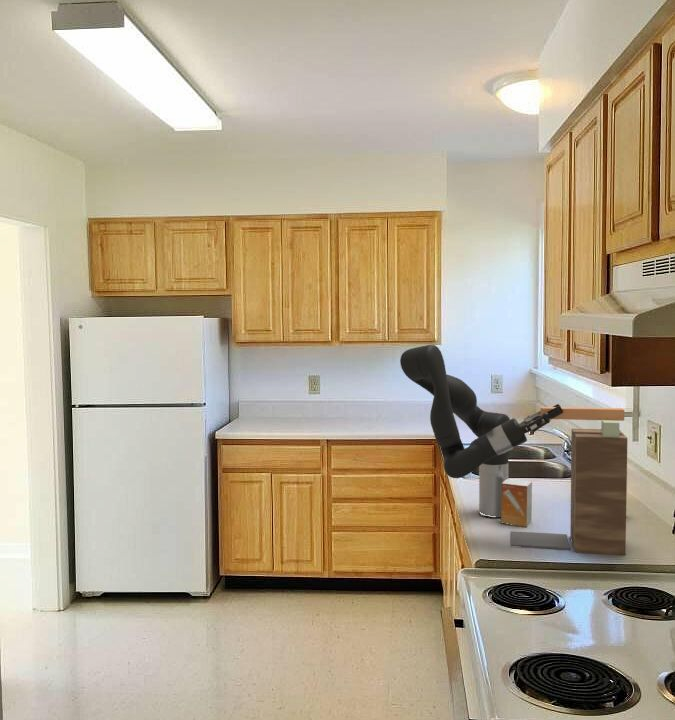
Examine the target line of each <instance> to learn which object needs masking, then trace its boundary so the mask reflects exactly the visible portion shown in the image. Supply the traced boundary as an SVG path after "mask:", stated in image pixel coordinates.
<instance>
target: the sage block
mask: <svg viewBox="0 0 675 720" xmlns="http://www.w3.org/2000/svg"><path fill="white" fill-rule="evenodd" d="M619 430H620V422H619V421H617V420H601V435H602V436H603V437H613V438H619Z"/></svg>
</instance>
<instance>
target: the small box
mask: <svg viewBox="0 0 675 720" xmlns="http://www.w3.org/2000/svg"><path fill="white" fill-rule="evenodd" d="M532 490H533V481H529V480H521V479H509V478H508V479H506V480H505V481H504V482H503V483H502V502H501V518H500V519H501V522H503V523H508V524H507V525H509V524H512V525H511V526H515V525H519V526H518V527H522V526H525V527H524V528H527V527H529V525H530V524H531V523H532V514H533V513H532V511H533V510H532V507H533V501H532V500H533V492H532ZM501 522H500V523H501ZM530 522H531V523H530Z"/></svg>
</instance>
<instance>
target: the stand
mask: <svg viewBox="0 0 675 720" xmlns="http://www.w3.org/2000/svg"><path fill="white" fill-rule="evenodd" d="M570 442H571V444H570V447H571V451H570V453H571V454H570V525H569V526H570V527H569V528H570V532H569V533H570V540H572V541H571V544H572V547H573V550H574V552H575V553H585V554H586V553H587V554H602V555H618V556H619V555H621V556H626V553H627V552H626V550H627V549H626V548H627V547H626V543H627V541H626V539H627V534H626V533H627V511H626V508H627V497H628V495H627V492H628V491H627V490H628V488H627V487H628V437H627V436H626V435H625V434H624V432H622V431H621V430H620V429H619V438H613V437H603V436H602V435H601V429H600V428H597V429H596V428H571V440H570Z"/></svg>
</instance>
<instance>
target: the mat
mask: <svg viewBox="0 0 675 720" xmlns="http://www.w3.org/2000/svg"><path fill="white" fill-rule="evenodd" d="M510 546H521V547H520V548H527V547H534V548H533V549H544V548H545V549H549V550H565V551H571V550H572V548H571V547H572V546H571V544H570V540H569V537H568V534H567V533H553V532H552V533H549V532H533V531H532V532H531V531H516V530H513V531H512V530H511V531H510Z"/></svg>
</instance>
